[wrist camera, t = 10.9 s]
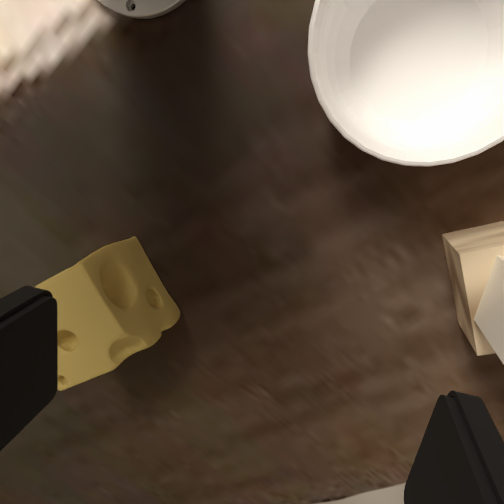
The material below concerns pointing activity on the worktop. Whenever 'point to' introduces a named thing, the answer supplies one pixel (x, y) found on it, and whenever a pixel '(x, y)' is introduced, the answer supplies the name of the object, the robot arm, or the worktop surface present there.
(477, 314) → the white cube
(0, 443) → the robot arm
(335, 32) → the bowl
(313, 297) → the worktop surface
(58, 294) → the cheese
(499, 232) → the block
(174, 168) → the worktop surface
